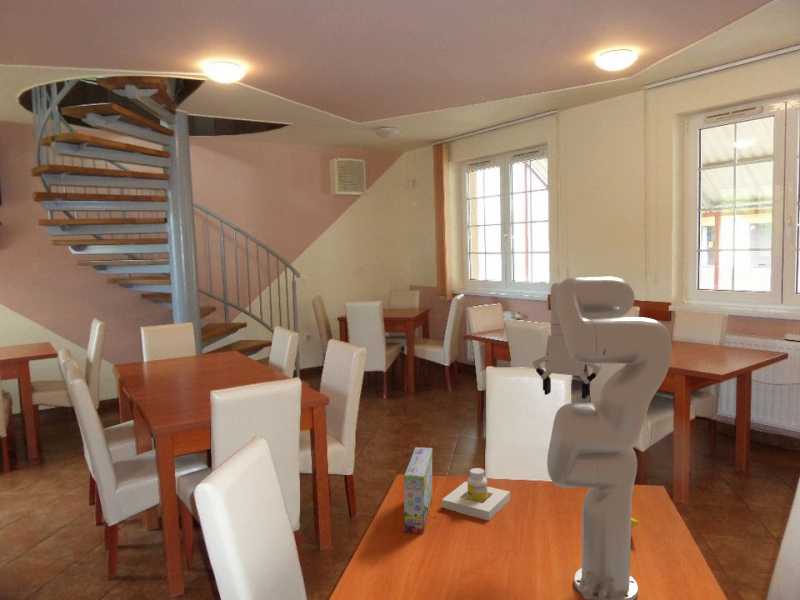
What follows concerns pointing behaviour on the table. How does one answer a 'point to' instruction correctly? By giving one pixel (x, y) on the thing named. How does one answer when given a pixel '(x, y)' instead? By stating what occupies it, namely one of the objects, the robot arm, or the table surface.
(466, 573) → the table surface
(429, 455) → the snack box
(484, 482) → the supplement bottle
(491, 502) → the holder plate
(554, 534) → the table surface
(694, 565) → the table surface
